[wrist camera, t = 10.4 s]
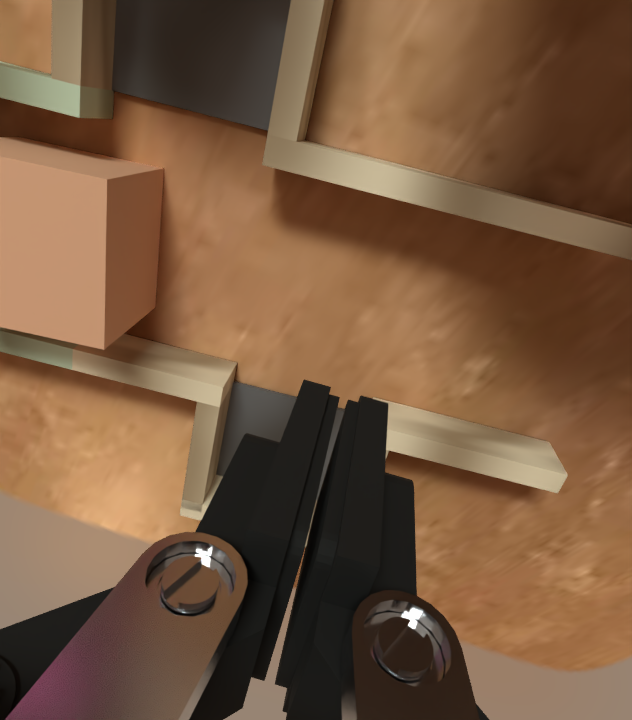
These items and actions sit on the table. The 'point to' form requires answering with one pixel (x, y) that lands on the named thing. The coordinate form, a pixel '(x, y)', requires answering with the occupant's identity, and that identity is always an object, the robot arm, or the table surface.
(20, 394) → the table surface
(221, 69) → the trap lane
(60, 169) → the terracotta block
